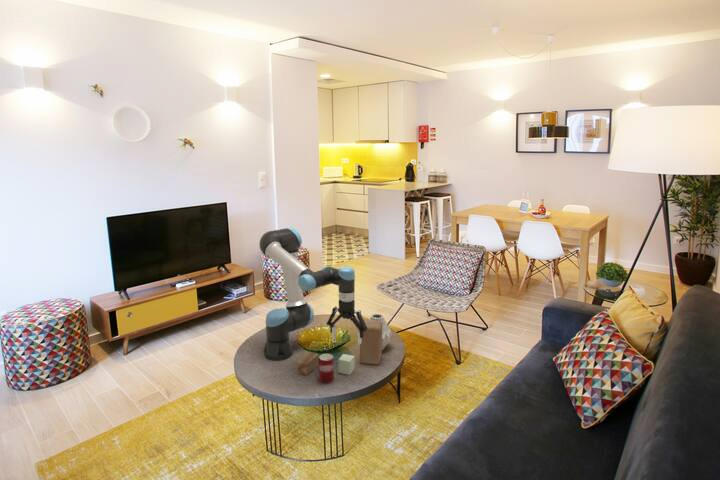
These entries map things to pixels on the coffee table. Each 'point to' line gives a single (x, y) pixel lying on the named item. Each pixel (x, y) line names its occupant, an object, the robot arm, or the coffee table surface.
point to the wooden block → (371, 343)
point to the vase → (383, 329)
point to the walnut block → (307, 363)
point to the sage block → (346, 364)
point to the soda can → (326, 368)
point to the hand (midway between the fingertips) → (346, 341)
